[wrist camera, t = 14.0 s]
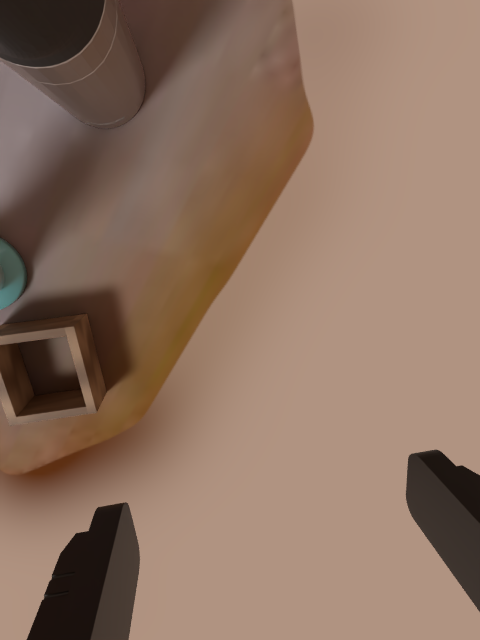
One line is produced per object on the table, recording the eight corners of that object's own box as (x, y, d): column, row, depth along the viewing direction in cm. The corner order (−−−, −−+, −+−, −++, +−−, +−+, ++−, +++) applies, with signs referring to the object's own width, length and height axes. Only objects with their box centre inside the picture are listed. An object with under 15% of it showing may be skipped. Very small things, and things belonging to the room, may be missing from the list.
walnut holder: (2, 324, 43) (-22, 338, 38) (87, 313, 43) (73, 326, 39) (28, 403, 46) (9, 425, 41) (106, 392, 47) (96, 412, 42)
